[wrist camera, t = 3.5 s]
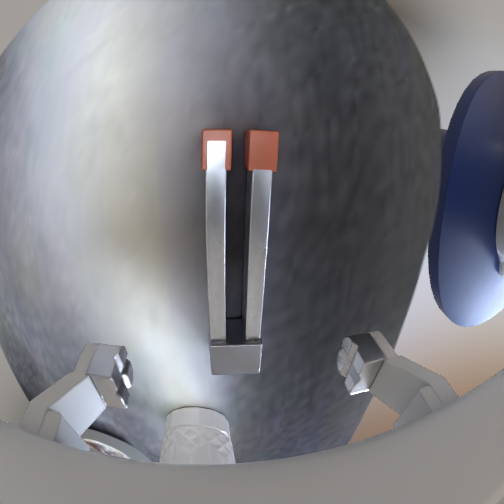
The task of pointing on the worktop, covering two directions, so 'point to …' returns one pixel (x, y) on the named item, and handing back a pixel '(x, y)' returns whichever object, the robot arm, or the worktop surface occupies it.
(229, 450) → the white cup
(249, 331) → the tongs
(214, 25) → the worktop surface
